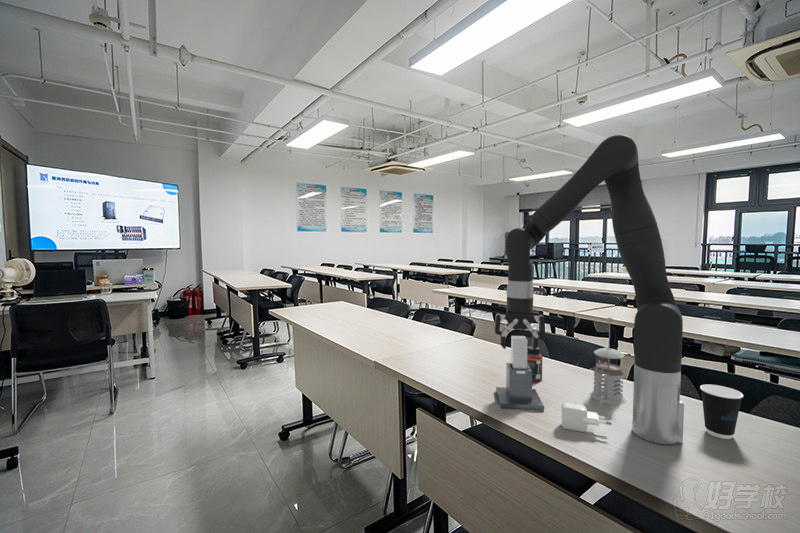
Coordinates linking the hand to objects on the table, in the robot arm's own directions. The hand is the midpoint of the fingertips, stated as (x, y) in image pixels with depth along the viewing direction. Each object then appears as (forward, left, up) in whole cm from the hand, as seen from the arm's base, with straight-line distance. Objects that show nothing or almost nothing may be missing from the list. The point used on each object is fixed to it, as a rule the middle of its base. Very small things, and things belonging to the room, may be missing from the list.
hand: (518, 348), depth 106 cm
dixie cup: (-46, +12, -16) cm, 50 cm away
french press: (-27, -6, -16) cm, 32 cm away
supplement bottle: (-8, -19, -16) cm, 26 cm away
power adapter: (-14, +15, -16) cm, 26 cm away
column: (0, 0, -14) cm, 14 cm away
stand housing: (0, 0, -16) cm, 16 cm away
